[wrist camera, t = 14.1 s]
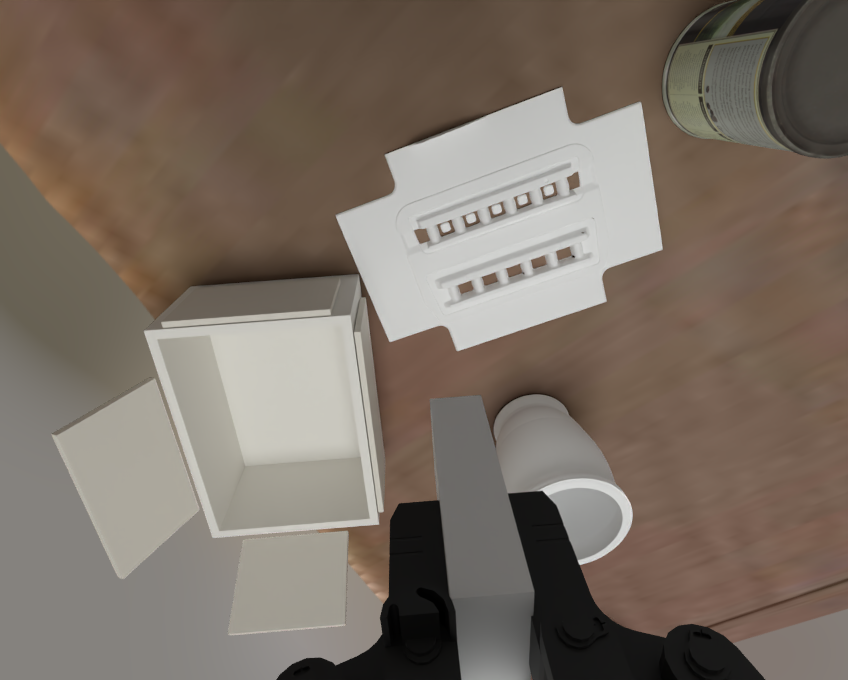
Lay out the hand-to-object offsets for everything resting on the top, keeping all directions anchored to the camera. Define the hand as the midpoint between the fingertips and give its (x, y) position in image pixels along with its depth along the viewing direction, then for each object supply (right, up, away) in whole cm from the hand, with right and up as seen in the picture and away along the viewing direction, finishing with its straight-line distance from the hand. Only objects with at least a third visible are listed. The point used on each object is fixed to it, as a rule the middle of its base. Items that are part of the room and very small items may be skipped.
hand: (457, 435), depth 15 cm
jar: (+11, -6, +42) cm, 44 cm away
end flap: (-13, -19, +31) cm, 39 cm away
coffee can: (+24, +25, +28) cm, 44 cm away
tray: (+6, +13, +33) cm, 36 cm away
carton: (-14, -1, +38) cm, 41 cm away
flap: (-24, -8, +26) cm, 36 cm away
